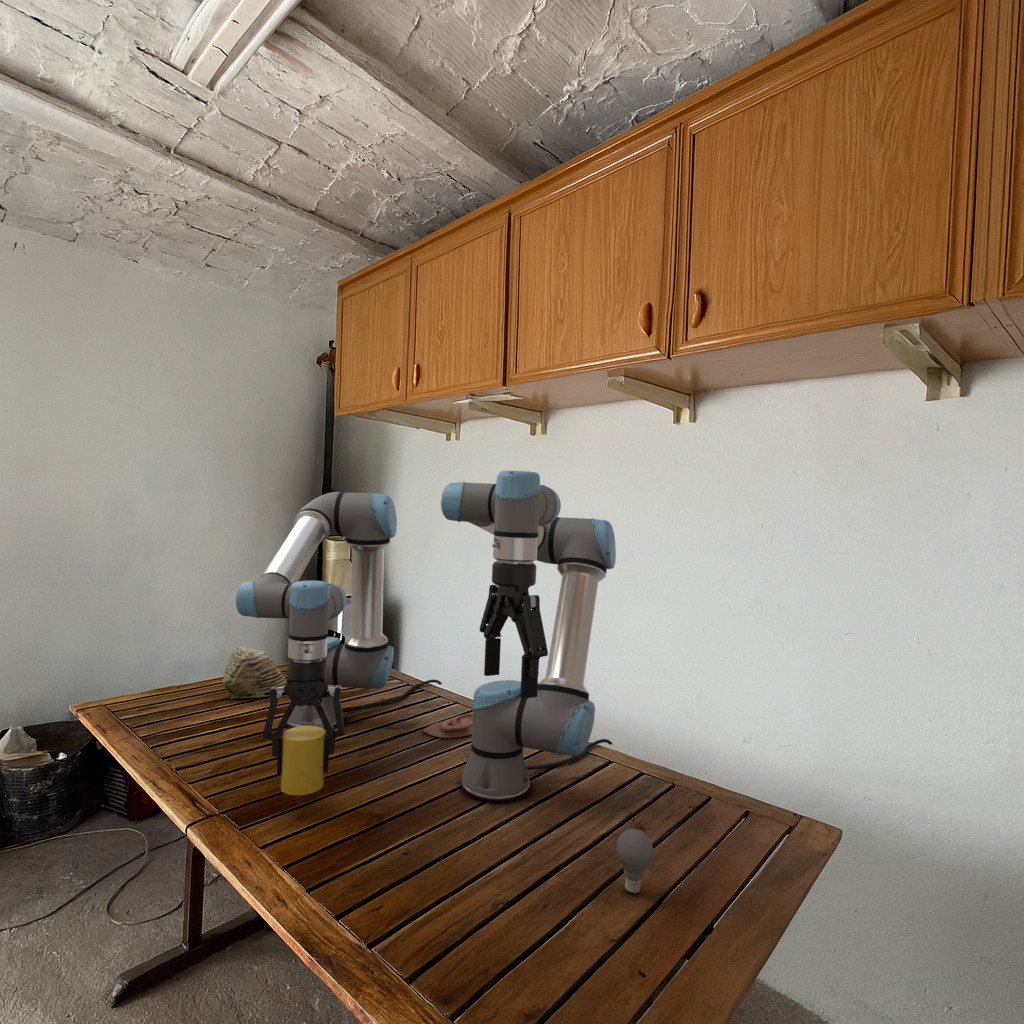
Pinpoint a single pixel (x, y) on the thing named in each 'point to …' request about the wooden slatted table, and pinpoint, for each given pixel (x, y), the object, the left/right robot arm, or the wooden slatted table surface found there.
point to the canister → (303, 760)
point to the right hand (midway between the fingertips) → (509, 685)
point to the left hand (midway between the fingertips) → (303, 770)
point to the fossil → (251, 674)
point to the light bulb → (634, 857)
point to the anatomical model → (452, 727)
